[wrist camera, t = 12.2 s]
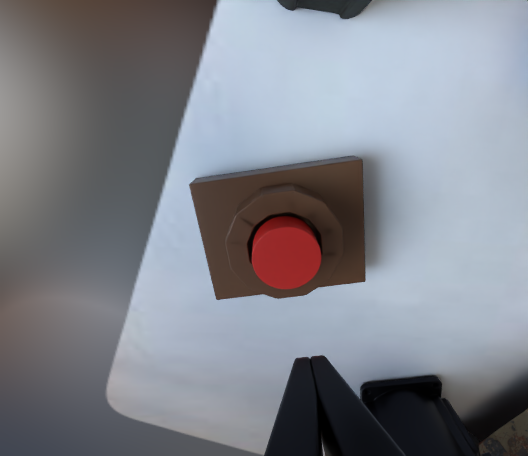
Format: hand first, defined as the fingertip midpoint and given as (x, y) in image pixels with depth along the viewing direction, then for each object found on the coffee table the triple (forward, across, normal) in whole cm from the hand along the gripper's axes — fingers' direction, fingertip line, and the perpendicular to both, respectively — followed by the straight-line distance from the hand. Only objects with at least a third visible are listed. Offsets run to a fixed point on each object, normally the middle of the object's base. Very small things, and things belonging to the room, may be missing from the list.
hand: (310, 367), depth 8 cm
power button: (+9, 0, 0) cm, 9 cm away
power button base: (+12, 0, 0) cm, 12 cm away
